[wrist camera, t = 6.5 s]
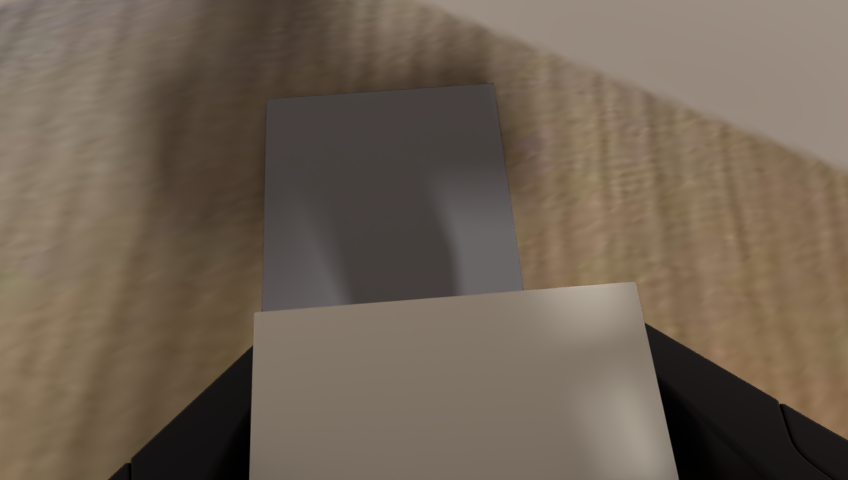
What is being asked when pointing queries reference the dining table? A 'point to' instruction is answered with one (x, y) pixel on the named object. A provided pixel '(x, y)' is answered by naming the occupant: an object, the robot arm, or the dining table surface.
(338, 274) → the placemat
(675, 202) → the dining table surface
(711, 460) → the robot arm
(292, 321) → the box
